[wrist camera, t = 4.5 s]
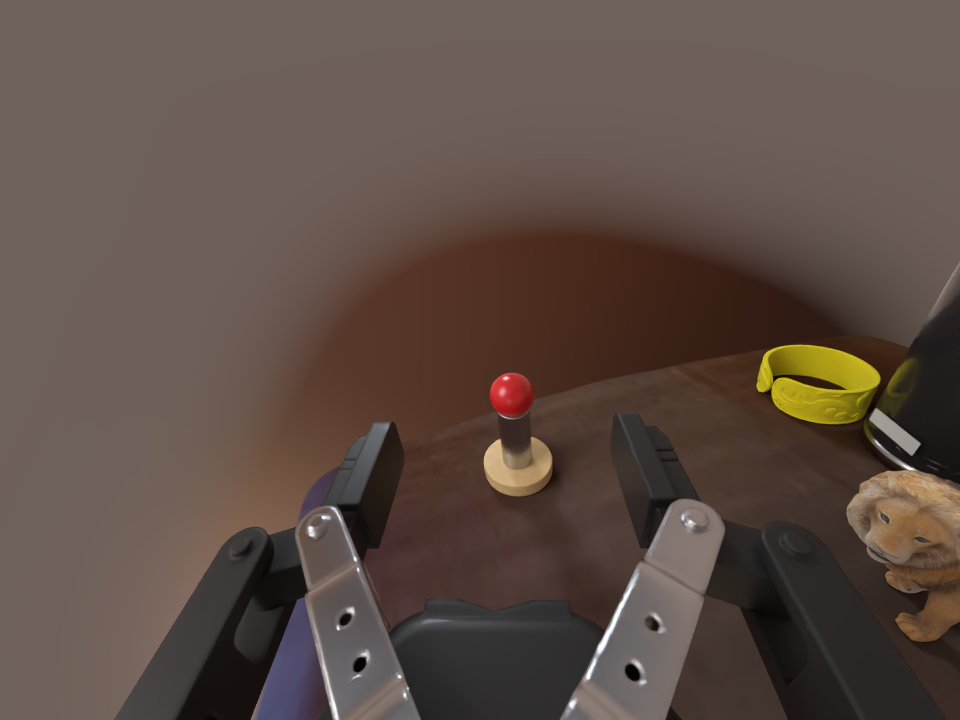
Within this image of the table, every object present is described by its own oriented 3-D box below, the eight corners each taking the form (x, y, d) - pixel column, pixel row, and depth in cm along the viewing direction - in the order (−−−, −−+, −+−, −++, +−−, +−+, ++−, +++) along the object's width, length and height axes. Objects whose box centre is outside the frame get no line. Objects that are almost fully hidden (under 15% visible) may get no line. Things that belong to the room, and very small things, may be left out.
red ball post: (528, 435, 34) (522, 348, 29) (566, 476, 30) (567, 382, 25) (474, 460, 32) (458, 372, 27) (506, 508, 28) (494, 413, 23)
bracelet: (815, 368, 37) (825, 339, 35) (894, 418, 30) (911, 384, 28) (740, 378, 37) (746, 350, 36) (801, 430, 30) (812, 397, 29)
